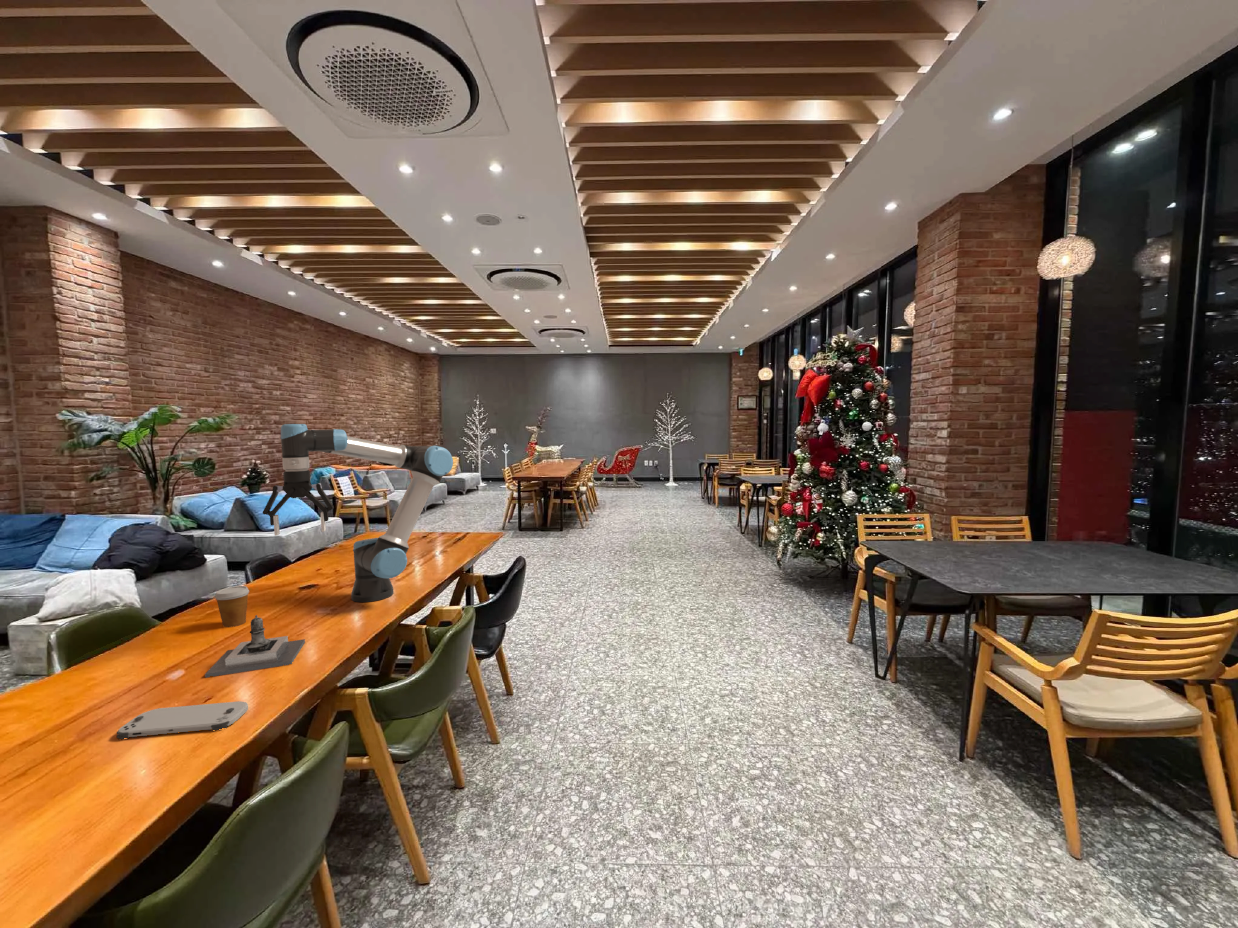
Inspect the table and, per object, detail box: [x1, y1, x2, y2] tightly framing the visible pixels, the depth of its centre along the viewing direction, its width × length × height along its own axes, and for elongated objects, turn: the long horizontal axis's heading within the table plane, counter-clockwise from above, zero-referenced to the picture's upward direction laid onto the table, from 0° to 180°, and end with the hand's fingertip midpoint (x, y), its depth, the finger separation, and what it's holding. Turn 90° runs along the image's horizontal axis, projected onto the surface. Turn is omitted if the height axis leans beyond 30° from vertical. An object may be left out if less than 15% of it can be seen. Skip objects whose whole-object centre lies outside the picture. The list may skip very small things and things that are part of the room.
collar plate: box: [204, 635, 306, 679], centre depth 146 cm, size 20×16×4 cm
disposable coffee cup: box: [214, 585, 250, 628], centre depth 174 cm, size 10×10×12 cm
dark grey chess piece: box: [246, 614, 271, 653], centre depth 146 cm, size 6×6×12 cm
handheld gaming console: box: [116, 701, 249, 740], centre depth 115 cm, size 23×3×10 cm
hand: (300, 532), depth 170 cm, fingers open, 13 cm apart
